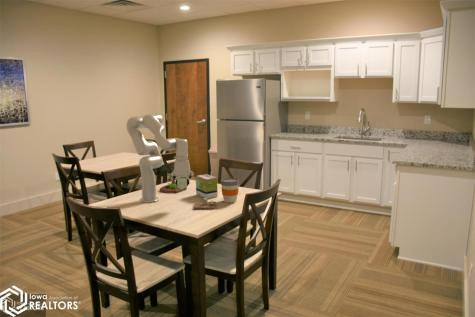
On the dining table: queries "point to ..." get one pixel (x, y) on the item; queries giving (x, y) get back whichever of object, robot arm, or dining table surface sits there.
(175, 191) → the plant
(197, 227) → the dining table surface
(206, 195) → the tea box
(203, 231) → the dining table surface
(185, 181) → the collar
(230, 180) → the reusable coffee cup
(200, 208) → the post board
